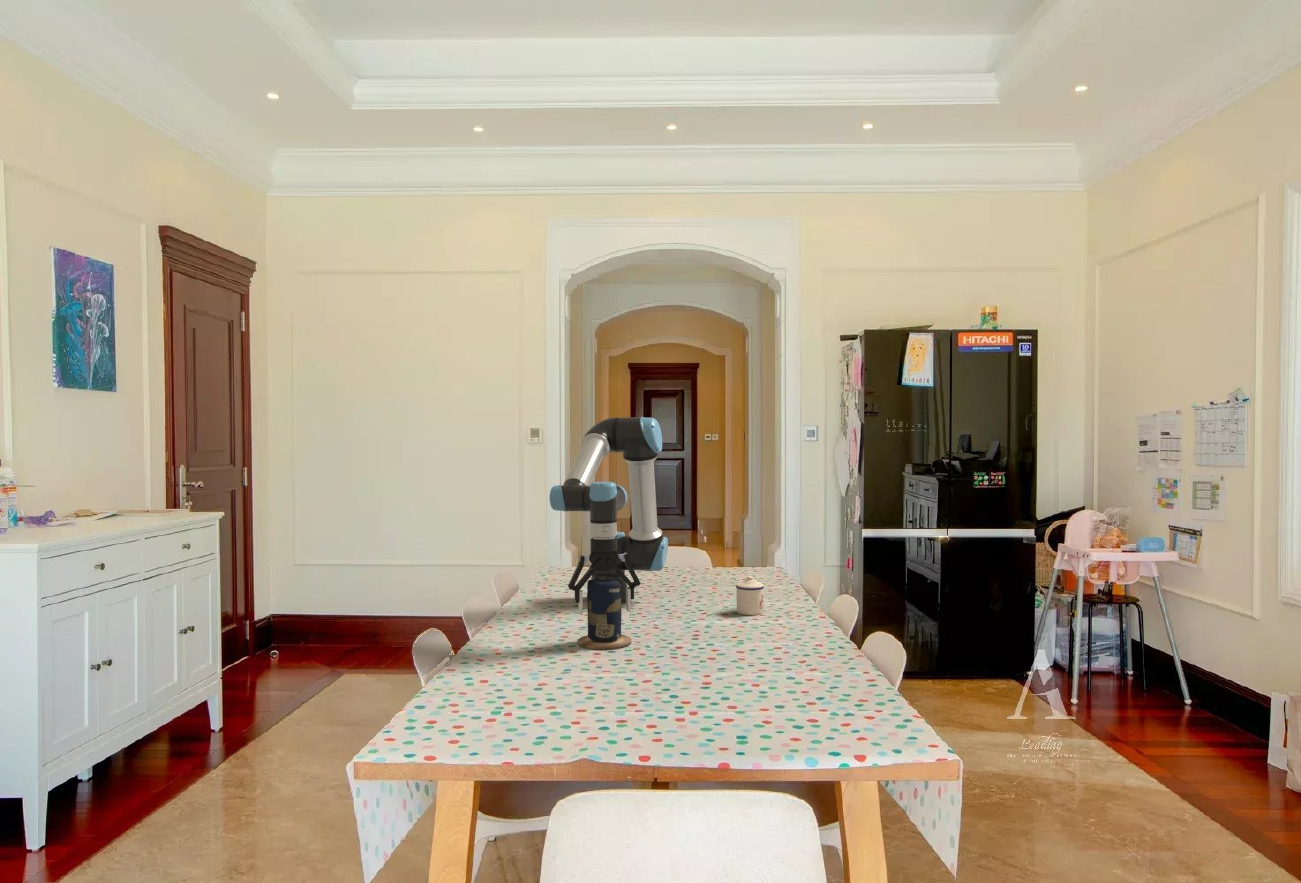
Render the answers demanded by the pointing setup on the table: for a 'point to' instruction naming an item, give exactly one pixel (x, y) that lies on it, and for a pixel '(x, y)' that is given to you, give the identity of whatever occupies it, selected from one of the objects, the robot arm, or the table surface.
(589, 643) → the brown plate
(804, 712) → the table surface
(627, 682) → the table surface
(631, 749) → the table surface
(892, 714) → the table surface
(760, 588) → the teacup with lid
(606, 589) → the canister
